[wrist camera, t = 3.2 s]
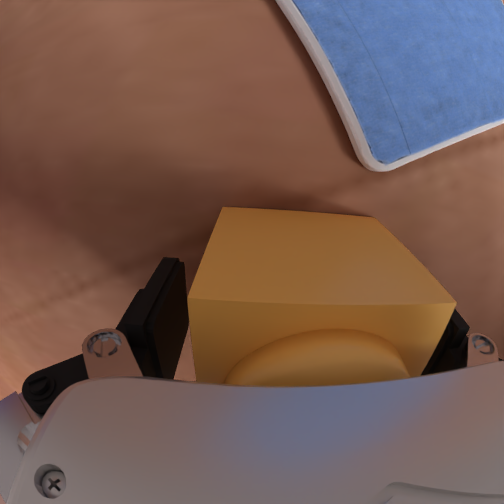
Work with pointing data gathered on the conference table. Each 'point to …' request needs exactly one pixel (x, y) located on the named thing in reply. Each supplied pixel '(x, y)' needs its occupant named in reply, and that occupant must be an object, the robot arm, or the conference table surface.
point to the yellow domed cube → (311, 302)
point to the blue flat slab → (406, 71)
